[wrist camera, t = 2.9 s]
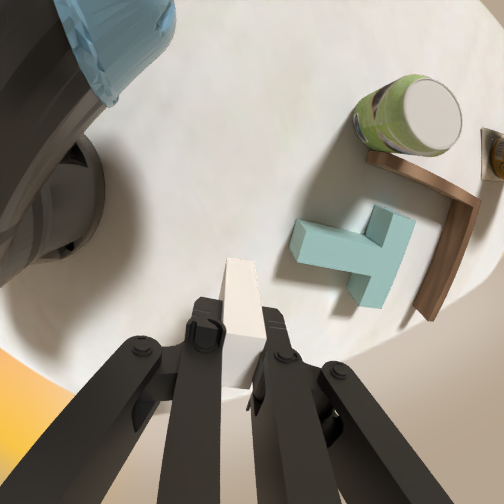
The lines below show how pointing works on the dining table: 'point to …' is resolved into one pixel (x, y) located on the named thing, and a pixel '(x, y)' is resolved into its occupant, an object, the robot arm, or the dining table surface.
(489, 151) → the condiment
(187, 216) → the dining table surface
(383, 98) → the beverage can
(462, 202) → the corner fence
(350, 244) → the t block
